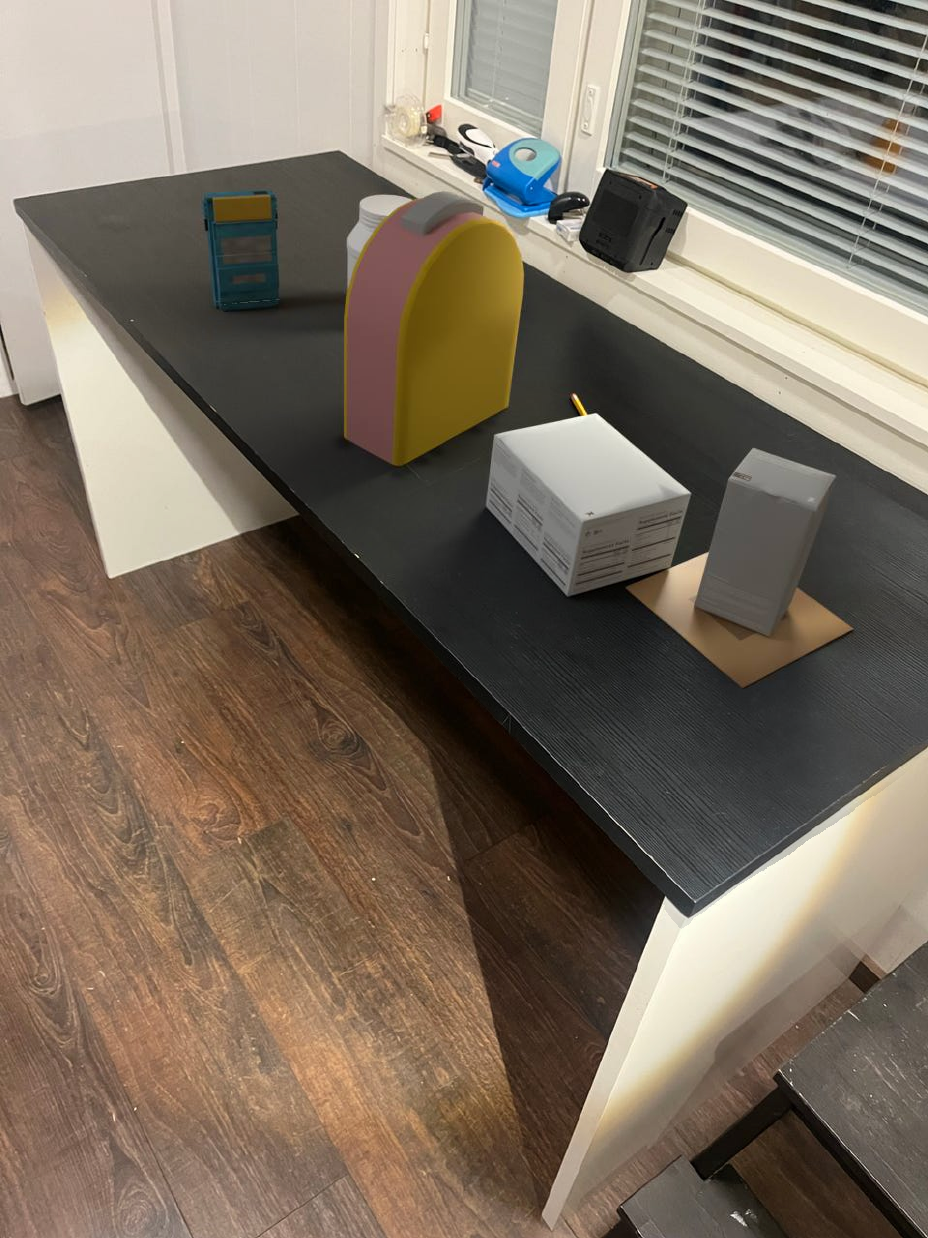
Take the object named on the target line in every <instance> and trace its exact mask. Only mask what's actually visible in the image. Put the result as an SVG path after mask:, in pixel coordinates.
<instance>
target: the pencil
mask: <svg viewBox="0 0 928 1238" xmlns="http://www.w3.org/2000/svg"><path fill="white" fill-rule="evenodd" d="M570 399H571V400H572V402H573V404H574V406H575V407H576V409H577V411H578V413H579V415H580V416H585V415H588V413H587V411H586V409H584V406H583V404H582V403H581V401H580V399H579V398H578V395H577V394H576V393H571V395H570Z"/></svg>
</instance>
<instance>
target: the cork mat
mask: <svg viewBox="0 0 928 1238" xmlns="http://www.w3.org/2000/svg"><path fill="white" fill-rule="evenodd" d="M708 553H709V551H708V552H705V553H703V554H700V555H698V556H696V557H694V558H691V559H689V560H686V561H684V562H682V563H679V564H677V565H675V566H671V567H669V568H666V569H664V570H662V571H661V572H658V573H656V574H654V575H651V576H648V577H646V578H643V579H641V580H639V581H637V582H634V583H632V584H630V585H627V586H625V590H627V591H628V592H629V593H630V594H631V595H633V596H634V597H635V598H636V599H637V600H638V601H639V602H641V603H642V604H643V605H645V607H646V608H648V609H649V610H650V611H652V613H653V614H654V615H656V616H657V617H658V618H659V619H660V620H662V621H663V622H664V623H665V624H667V625H668V627H670V628H671V629H672V630H673V631H675V632H676V633H677V634H678V635H679V636H680V637H682V638H683V639H684V640H685V641H687V642H688V643H689V644H690V645H691V646H692V647H693V648H695V650H696V651H698V652H699V653H700V654H702V655H703V656H704V657H705V658H706V659H707V660H708V661H709V662H711V663H712V664H713V665H714V666H715V667H717V668H718V669H719V670H720V671H722V672H723V673H724V674H725V675H726V676H727V677H728V678H730V679H731V680H732V681H733V682H734V683H735V684H737V686H739V687H740V688H741V689H744V688H746V687H749V686H750V685H752V684H754V683H756V682H758V681H759V680H761V679H763V678H765V677H767V676H768V675H770V674H772V673H774V672H776V671H778V670H780V669H782V668H784V667H786V666H788V665H789V664H791V663H793V662H795V661H797V660H798V659H801V658H802V657H804V656H806V655H808V654H811V652H814V651H816V650H818V649H819V648H821V647H824V645H827V644H829V643H830V642H832V641H835V640H836V639H838V638H840V637H842V636H844V635H846V634H847V633H849V632H851V631H853V630H854V628H853V627H851V626H850V625H849V624H848V623H846V622H845V621H844V620H842V619H841V618H840V617H838V616H837V615H835V614H834V613H833V612H832V611H830V610H829V609H827V608H826V607H824V606H823V605H822V604H821V603H820V602H818V601H817V600H815V599H814V598H813V597H811V596H810V595H808V594H807V593H806V592H804V591H803V590H802V589H800V588H799V587H797V588H796V591H795V594H794V596H793V599H792V601H791V603H790V605H789V607H788V609H787V610H786V612H785V614H784V616H783V617H782V619H781V621H780V623H779V624H778V626H777V628H776V630H775V631H774V633H773V635H772V636H771V637H768V636H766V635H763V634H761V633H759V632H756V631H754V630H751V629H749V628H746V627H744V626H741V625H739V624H736V623H734V622H731V621H729V620H726V619H724V618H721V617H719V616H717V615H714V614H711V613H709V612H707V611H704V610H702V609H699V608H697V607H695V606H694V604H695V601H696V597H697V593H698V589H699V585H700V582H701V578H702V575H703V571H704V568H705V564H706V560H707V557H708Z"/></svg>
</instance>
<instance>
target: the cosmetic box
mask: <svg viewBox="0 0 928 1238" xmlns="http://www.w3.org/2000/svg"><path fill="white" fill-rule="evenodd" d="M836 481H837V475H835V474H832V473H828V472H826V471H823V470H820V469H817V468H813V467H810V466H807V465H805V464H802V463H798V462H795V461H793V460H789V459H787V458H783V457H781V456H778V455H775V454H772V453H769V452H766V451H763V450H760V449H758V448H755V447H752V449H751V450H750V451H749V452H748V453H747V455H746V456H745V457H744V458H743V460H742V461H741V462H740V463H739V464H738V466H736V468H735V470H734V471H733V472H732V474H731V475H730V476H729V478H728V479H727V483H726V488H725V491H724V495H723V500H722V503H721V506H720V510H719V514H718V517H717V521H716V524H715V528H714V532H713V535H712V539H711V542H710V546H709V550H708V552H709V553H708V557H707V560H706V564H705V568H704V571H703V575H702V578H701V582H700V585H699V589H698V593H697V597H696V601H695V604H694V606H695V607H697V608H699V609H702V610H704V611H707V612H709V613H711V614H714V615H717V616H719V617H721V618H724V619H726V620H729V621H731V622H734V623H736V624H739V625H741V626H744V627H746V628H749V629H751V630H754V631H756V632H759V633H761V634H763V635H766V636H768V637H771V636H772V635H773V633H774V631H775V630H776V628H777V626H778V624H779V623H780V621H781V619H782V617H783V616H784V614H785V612H786V610H787V609H788V607H789V605H790V603H791V601H792V599H793V596H794V594H795V591H796V588H798V585H799V583H800V581H801V577H802V575H803V572H804V570H805V567H806V563H807V561H808V558H809V555H810V553H811V550H812V547H813V544H814V542H815V540H816V536H817V534H818V531H819V528H820V525H821V522H822V520H823V517H824V515H825V511H826V508H827V506H828V503H829V500H830V498H831V495H832V492H833V489H834V486H835V483H836Z"/></svg>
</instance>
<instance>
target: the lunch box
mask: <svg viewBox="0 0 928 1238" xmlns="http://www.w3.org/2000/svg"><path fill="white" fill-rule="evenodd" d="M484 208H485V207H484V205H483V203H481V202H478V201H476V200H473V199H471V198H468V197H466V196H463V195H460V194H458V193H455V192H452V191H445V190H444V191H443V190H442V191H437V192H436V191H435V192H433V193H430V194H428V195H426V196H424V197H422V198H414V199H412V201H410V202H408V203H406V204H404V205H402V206H400V207H398V208H397V209H395V210H394V211H393V212H392V213H391V214H390V215H389V216H388V217H386V218H385V219H384V220H383V221H382V222H381V223H380V224H379V225H378V227H377V228H376V229H375V231H374V232H373V234H372V235H371V236H370V238H369V239H368V241H367V242H366V243H365V245H364V247H363V249H362V252H361V254H360V256H359V258H358V260H357V262H356V264H355V266H354V269H353V273H352V276H351V280H350V283H349V287H348V291H347V290H346V296H345V308H344V318H343V321H344V322H343V323H344V324H343V334H344V335H343V347H344V349H343V366H344V367H343V388H344V389H343V437H344V438H345V439H346V440H347V441H349V442H350V443H352V444H354V445H356V446H358V447H360V448H361V449H363V450H365V451H367V452H369V453H371V454H372V455H374V456H376V457H378V458H379V459H381V460H383V461H385V462H387V463H388V464H389V465H392V466H395V467H402V466H404V465H406V464H408V463H409V462H411V461H413V460H415V459H417V458H419V457H420V456H422V455H424V454H426V453H428V452H429V451H431V450H433V449H435V448H436V447H438V446H441V445H442V444H444V443H446V442H447V441H449V440H451V439H453V438H455V437H456V436H458V435H459V434H462V433H463V432H466V431H467V430H469V429H471V428H473V427H474V426H476V425H478V424H480V423H481V422H483V421H485V420H487V419H488V418H491V417H492V416H494V415H496V414H498V413H500V412H501V411H503V410H505V409H507V408H509V403H510V396H511V395H510V394H511V387H512V379H513V373H514V372H513V371H514V366H515V365H514V364H515V357H516V348H517V341H518V333H519V326H520V320H521V319H520V318H521V310H522V303H523V295H524V279H525V278H524V277H525V272H524V265H523V264H524V263H523V257H522V252H521V250H520V248H519V245H518V243H517V239H516V238H515V236H514V234H513V233H512V231H510V229H508V227H506V225H504V223H502V222H501V221H498V220H496V219H493V218H491V217H489V216H485V215H484Z"/></svg>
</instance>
